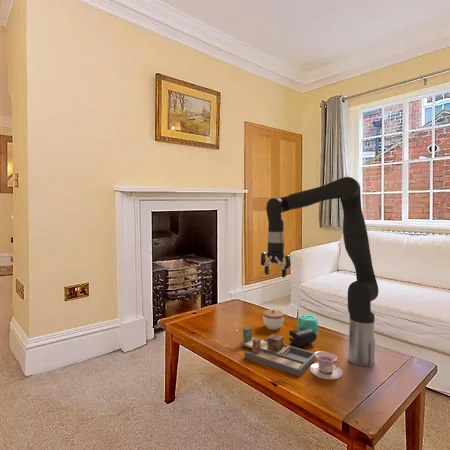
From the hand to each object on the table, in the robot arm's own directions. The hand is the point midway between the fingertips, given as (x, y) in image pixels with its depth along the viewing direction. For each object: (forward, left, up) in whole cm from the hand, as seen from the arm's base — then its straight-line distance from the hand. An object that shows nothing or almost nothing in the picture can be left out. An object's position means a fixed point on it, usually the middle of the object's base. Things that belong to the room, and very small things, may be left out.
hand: (275, 275), depth 148 cm
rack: (-11, +16, -30) cm, 36 cm away
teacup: (-29, +14, -30) cm, 45 cm away
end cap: (-13, -2, -30) cm, 33 cm away
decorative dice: (-10, -16, -30) cm, 36 cm away
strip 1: (-2, +13, -30) cm, 33 cm away
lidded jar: (+7, -12, -30) cm, 33 cm away
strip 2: (-11, +21, -30) cm, 38 cm away
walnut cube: (-7, +13, -28) cm, 32 cm away
